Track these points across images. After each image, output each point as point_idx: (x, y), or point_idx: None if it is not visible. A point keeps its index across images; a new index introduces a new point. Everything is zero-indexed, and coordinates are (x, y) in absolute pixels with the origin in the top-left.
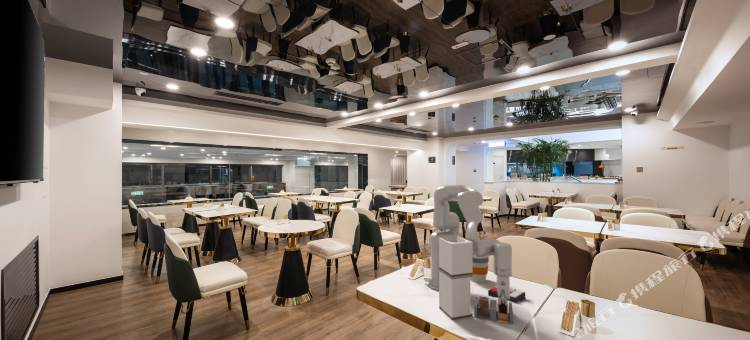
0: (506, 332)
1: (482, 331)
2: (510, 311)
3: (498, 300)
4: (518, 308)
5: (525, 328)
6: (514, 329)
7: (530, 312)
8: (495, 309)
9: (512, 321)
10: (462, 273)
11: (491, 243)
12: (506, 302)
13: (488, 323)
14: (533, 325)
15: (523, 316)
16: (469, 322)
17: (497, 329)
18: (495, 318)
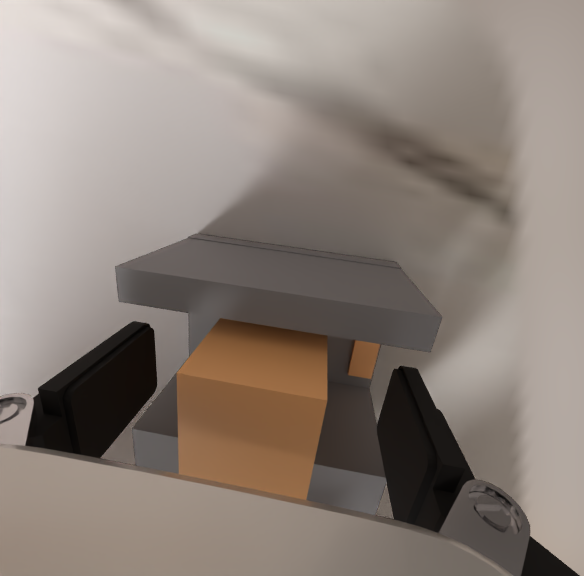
0: (502, 331)
1: (494, 472)
2: (410, 341)
3: (229, 483)
4: (27, 141)
5: (417, 151)
6: (447, 259)
7: (51, 16)
8: (379, 482)
9: (405, 279)
10: None
11: None
12: (264, 402)
13: (377, 422)
14: (340, 44)
15: (174, 121)
16: (383, 514)
17: (459, 383)
18: (372, 408)
